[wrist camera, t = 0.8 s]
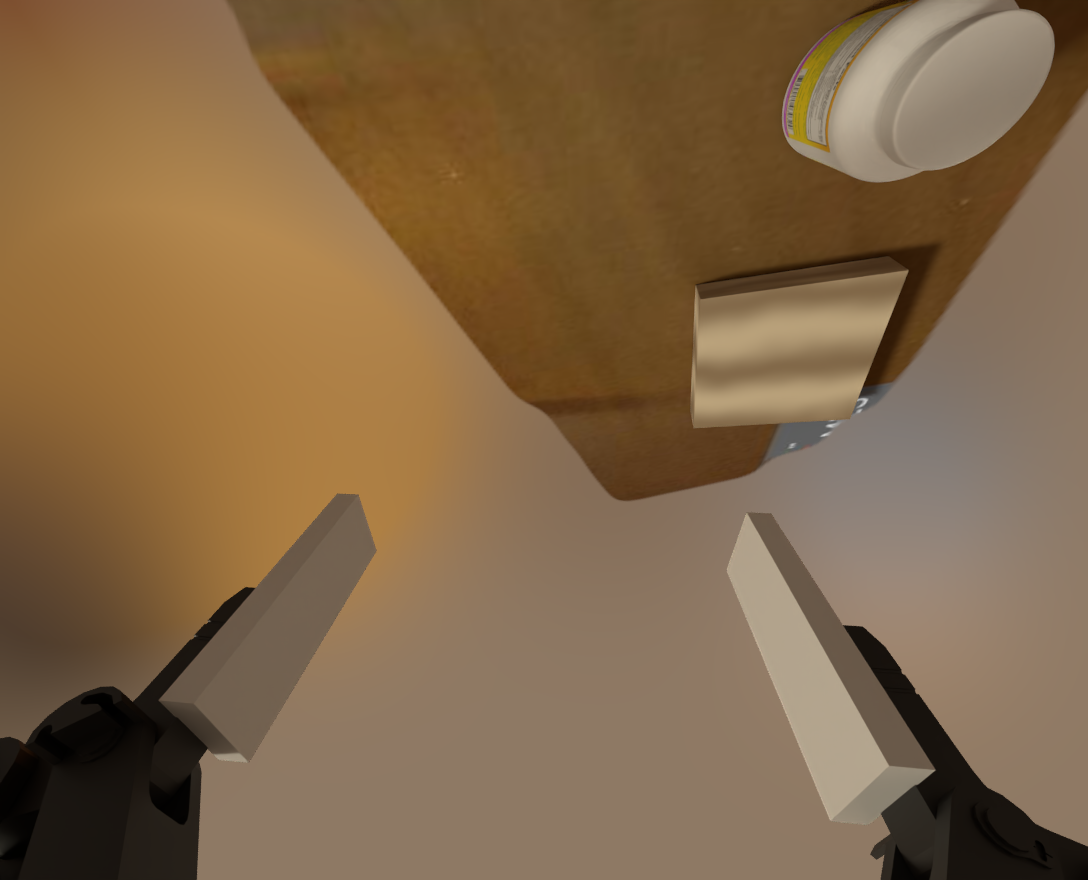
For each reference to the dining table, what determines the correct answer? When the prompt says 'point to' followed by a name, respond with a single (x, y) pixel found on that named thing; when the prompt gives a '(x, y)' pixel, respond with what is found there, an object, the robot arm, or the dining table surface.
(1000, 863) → the robot arm
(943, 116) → the supplement bottle
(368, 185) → the dining table surface
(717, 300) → the birch stand
